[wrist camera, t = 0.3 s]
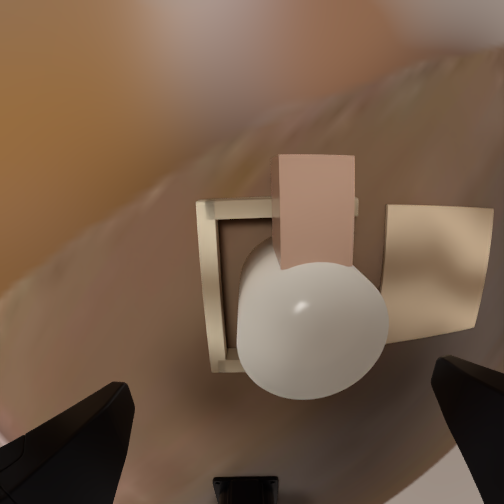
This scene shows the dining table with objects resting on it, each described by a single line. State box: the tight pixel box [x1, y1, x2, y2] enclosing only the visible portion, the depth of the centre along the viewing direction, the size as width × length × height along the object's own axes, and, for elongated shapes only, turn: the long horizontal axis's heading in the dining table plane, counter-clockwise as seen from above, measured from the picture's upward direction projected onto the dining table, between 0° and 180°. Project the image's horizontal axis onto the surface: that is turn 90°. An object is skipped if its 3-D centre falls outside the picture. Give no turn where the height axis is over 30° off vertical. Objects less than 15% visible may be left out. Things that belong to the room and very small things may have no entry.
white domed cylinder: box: [237, 154, 389, 400], centre depth 16 cm, size 11×7×7 cm, turn 2°
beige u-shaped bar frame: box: [196, 197, 358, 373], centre depth 19 cm, size 11×9×2 cm
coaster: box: [380, 204, 494, 344], centre depth 19 cm, size 10×10×1 cm
